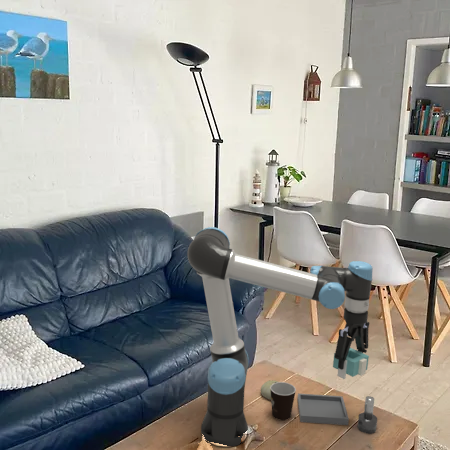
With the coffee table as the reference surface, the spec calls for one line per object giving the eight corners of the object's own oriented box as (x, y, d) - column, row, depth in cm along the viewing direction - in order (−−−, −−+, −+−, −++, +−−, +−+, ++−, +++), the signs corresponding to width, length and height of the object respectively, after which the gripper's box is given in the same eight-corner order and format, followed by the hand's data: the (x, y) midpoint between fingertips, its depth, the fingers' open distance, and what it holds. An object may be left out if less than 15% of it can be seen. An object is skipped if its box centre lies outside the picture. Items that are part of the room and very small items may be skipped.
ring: (332, 367, 176) (334, 353, 175) (347, 360, 181) (348, 346, 180) (355, 378, 169) (357, 364, 168) (370, 371, 175) (371, 357, 173)
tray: (300, 421, 179) (300, 415, 178) (297, 399, 192) (297, 393, 192) (348, 425, 178) (348, 418, 177) (342, 402, 191) (342, 396, 191)
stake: (359, 433, 174) (362, 402, 171) (356, 422, 179) (359, 393, 177) (377, 434, 173) (381, 404, 171) (374, 423, 179) (377, 394, 177)
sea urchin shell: (286, 384, 199) (286, 377, 192) (284, 405, 195) (284, 400, 188) (261, 381, 200) (261, 375, 193) (259, 402, 196) (259, 397, 189)
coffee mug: (292, 423, 177) (294, 396, 175) (267, 420, 179) (268, 393, 177) (295, 405, 188) (297, 379, 186) (271, 401, 190) (272, 376, 188)
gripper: (346, 320, 161) (339, 387, 167) (384, 305, 175) (376, 368, 180) (326, 312, 167) (320, 378, 172) (365, 298, 180) (358, 360, 186)
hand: (349, 373), depth 176 cm, fingers closed on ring, 8 cm apart
